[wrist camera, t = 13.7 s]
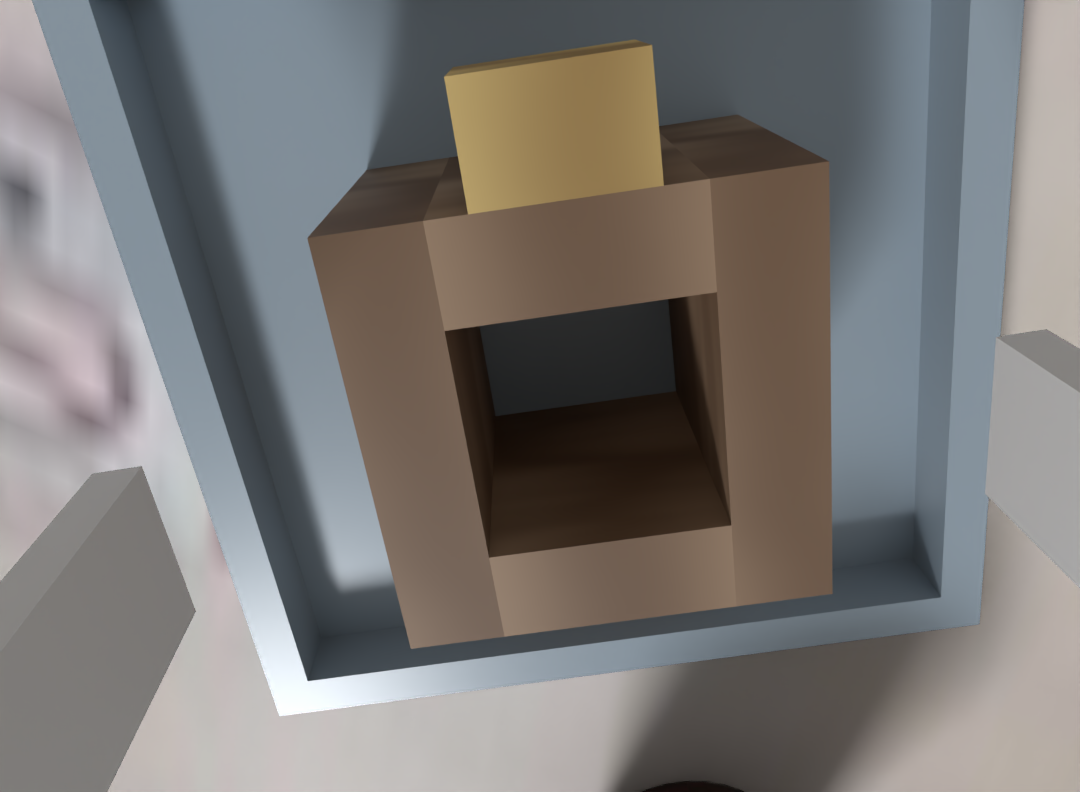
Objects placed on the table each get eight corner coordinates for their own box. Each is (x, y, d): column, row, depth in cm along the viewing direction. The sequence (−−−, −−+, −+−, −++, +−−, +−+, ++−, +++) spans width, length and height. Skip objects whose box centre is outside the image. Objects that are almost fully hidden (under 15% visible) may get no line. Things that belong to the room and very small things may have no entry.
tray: (300, 651, 25) (279, 716, 23) (76, -48, 18) (12, -55, 16) (936, 566, 25) (979, 624, 22) (972, -194, 17) (1040, -223, 15)
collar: (436, 489, 22) (410, 648, 17) (345, 71, 18) (272, 102, 13) (753, 446, 22) (832, 593, 17) (732, 12, 18) (827, 18, 13)
